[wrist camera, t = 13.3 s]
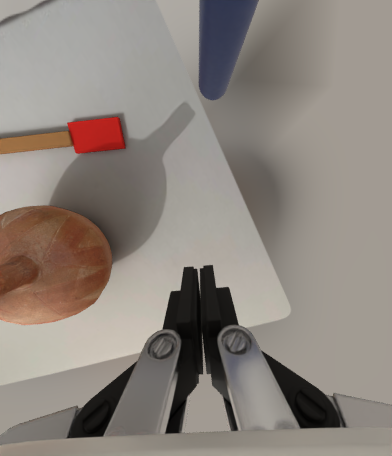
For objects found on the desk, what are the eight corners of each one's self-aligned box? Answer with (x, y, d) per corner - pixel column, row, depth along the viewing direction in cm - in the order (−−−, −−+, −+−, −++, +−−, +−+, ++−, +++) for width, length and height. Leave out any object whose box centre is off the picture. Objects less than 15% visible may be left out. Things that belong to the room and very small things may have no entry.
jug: (80, 300, 39) (-31, 423, 20) (9, 237, 35) (-216, 318, 16) (144, 254, 36) (83, 351, 17) (74, 178, 31) (-115, 191, 12)
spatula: (-14, 133, 29) (-22, 132, 28) (119, 118, 29) (116, 116, 27) (-2, 162, 31) (-10, 162, 30) (125, 148, 30) (122, 147, 29)
